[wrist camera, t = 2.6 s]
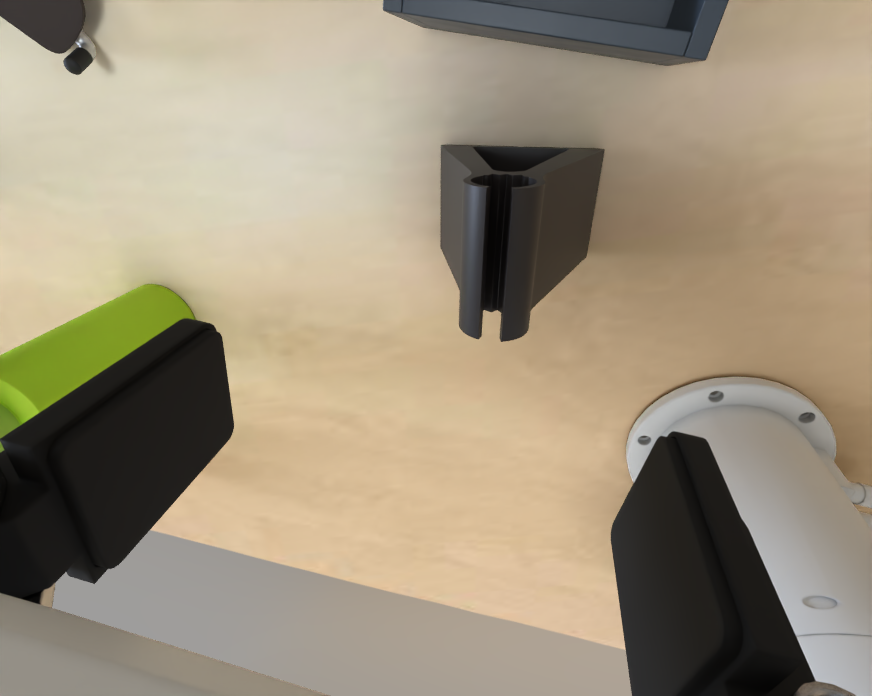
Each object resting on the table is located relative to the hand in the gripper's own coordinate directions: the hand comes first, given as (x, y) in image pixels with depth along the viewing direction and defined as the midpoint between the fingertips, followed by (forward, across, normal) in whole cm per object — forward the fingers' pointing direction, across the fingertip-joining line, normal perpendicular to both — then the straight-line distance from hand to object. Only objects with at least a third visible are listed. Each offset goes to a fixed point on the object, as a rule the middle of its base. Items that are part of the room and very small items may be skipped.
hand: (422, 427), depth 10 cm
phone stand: (+21, -1, 0) cm, 21 cm away
